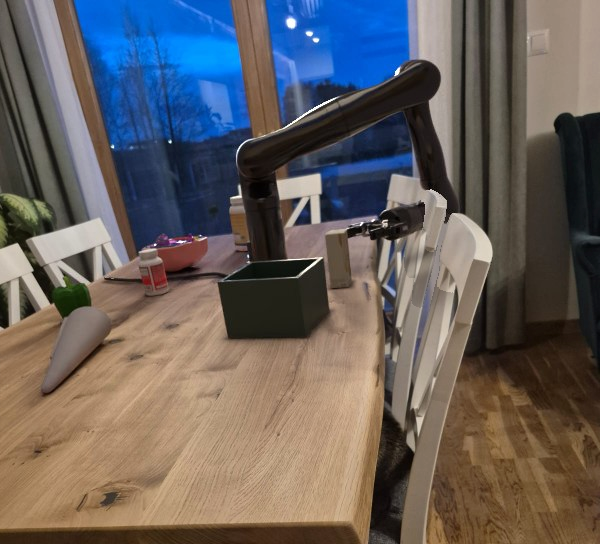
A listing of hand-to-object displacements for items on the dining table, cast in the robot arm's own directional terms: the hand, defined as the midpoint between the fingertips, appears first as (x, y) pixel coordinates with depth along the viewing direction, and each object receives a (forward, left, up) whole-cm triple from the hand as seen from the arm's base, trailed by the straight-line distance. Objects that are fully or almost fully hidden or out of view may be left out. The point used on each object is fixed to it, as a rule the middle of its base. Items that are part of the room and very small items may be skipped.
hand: (357, 235), depth 135 cm
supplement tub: (-48, +48, -10) cm, 69 cm away
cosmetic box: (-3, -6, -10) cm, 12 cm away
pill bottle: (-53, -6, -10) cm, 54 cm away
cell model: (-61, +21, -10) cm, 65 cm away
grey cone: (-39, -55, -10) cm, 68 cm away
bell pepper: (-62, -27, -10) cm, 69 cm away
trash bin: (-8, -34, -10) cm, 36 cm away
